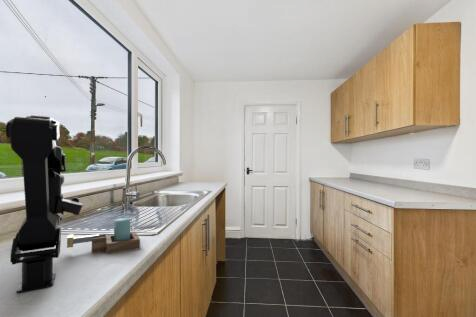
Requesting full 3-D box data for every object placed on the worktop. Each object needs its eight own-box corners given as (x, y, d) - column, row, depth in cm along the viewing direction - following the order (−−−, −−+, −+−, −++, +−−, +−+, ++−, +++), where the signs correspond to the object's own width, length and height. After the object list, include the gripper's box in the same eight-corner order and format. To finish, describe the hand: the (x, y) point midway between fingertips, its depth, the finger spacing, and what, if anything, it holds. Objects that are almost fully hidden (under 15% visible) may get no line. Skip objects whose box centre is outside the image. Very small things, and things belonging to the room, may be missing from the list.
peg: (131, 247, 84) (131, 220, 84) (114, 250, 81) (114, 222, 81) (129, 242, 88) (129, 217, 88) (113, 245, 85) (113, 219, 85)
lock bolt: (99, 243, 80) (99, 233, 80) (67, 247, 75) (67, 237, 75) (98, 240, 82) (98, 231, 82) (67, 244, 78) (67, 235, 78)
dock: (139, 248, 83) (139, 235, 83) (91, 256, 76) (91, 241, 76) (135, 239, 91) (135, 227, 91) (91, 246, 84) (91, 233, 84)
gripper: (80, 194, 71) (79, 249, 71) (82, 187, 87) (81, 232, 87) (29, 197, 65) (29, 256, 65) (41, 189, 81) (41, 237, 81)
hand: (48, 244), depth 74 cm, fingers closed
